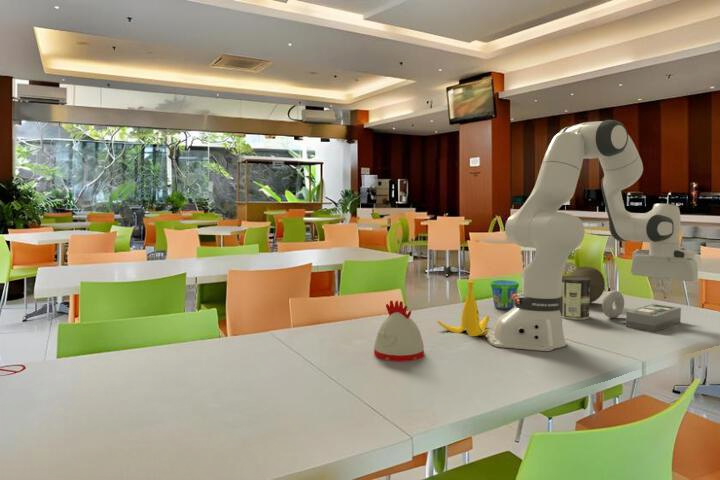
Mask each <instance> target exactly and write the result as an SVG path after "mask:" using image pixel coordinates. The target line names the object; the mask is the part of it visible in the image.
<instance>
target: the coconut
mask: <svg viewBox="0 0 720 480" xmlns="http://www.w3.org/2000/svg"><path fill="white" fill-rule="evenodd" d="M569 276H580V277H587V278H590V295H589V304H591V303H593V302H595V301H597V300H598V299H600V297H601V296H602V295H603V294H604V291H605V286H606V285H605V284H606V283H605V278H604V274H603V273H602V272H601V271H600V270H599V269H598V268H595V267H591V266H580V267H577V268H576V269H574V270H573V271H572V272H571V274H570V275H569Z"/></svg>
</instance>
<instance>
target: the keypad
mask: <svg viewBox="0 0 720 480" xmlns="http://www.w3.org/2000/svg"><path fill="white" fill-rule="evenodd" d="M649 306H654V307H663V308H669V310H667V309H663V312H655V314H654V315H648V314H642V313H637V310H639V309H645V308H646V307H649ZM681 312H682V308H681V307H680V306H679V307H678V306H671V305H666V304H665V305H664V304H658V303H652V304H648V305H644V306H641V307H638V308H635V309H632V310H628V311H626V316H625V317H626V319H625V327H627V328H632V329H637V330H641V331H646V332H653V333H656V332H658V331H660V330H661V331H662V330H663V329H666V328H669V327H671V326H674V325H677V324H680V323H681V318H682V317H681V316H682V315H681V314H682V313H681Z"/></svg>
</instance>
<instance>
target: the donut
mask: <svg viewBox="0 0 720 480" xmlns="http://www.w3.org/2000/svg"><path fill="white" fill-rule="evenodd" d="M601 308H602V312H603V314H604V315H605V316H606V317H607V318H609V319H615V318H618V317H619V316H620V315H621V314H622V313H623V311H624V309H625V297H624V295H623V294H622V293H621V292H620V291H618V290H613V289H612V290H610V291H608V292H607V293H606V294H605V295H604V297H603V299H602V303H601Z"/></svg>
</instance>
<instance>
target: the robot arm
mask: <svg viewBox="0 0 720 480" xmlns="http://www.w3.org/2000/svg"><path fill="white" fill-rule="evenodd" d="M584 159H585V160H586V159H587V160H592V159H598V161H599V163H600V166H601V168H602V171H603V177H602V179H601V182H600V184H601V185H600V186H601V192H602V193H601V194H602V197H603V201H604V206H605V209H606V213H607V217H608V227H609V228H608V229H609V233H610V235H611V236H612V238H614V240H616V241H618V242H637V243H638V242H639V243H649V249H639V248H637V249H636V250H634V251H633V252H632V255H631V259H632V261H631V267H630V273H631V274H632V275H633V276H637V277H638V276H640V277H646V278H647V277H648V278H653V279H652V280H653V283H654V284H655V286H656V291H657V292H662V293H663V292H664V293H667V292H668V289H669V286H670V285H671V284H672V282H673V280H675V281H683V282H695V281H696V280H697V279H698V277H699V271H698V270H699V269H698V262H697V261H696V259H695V257H696V252H695V251H693V250H691V249H688V248H685V247H682V246H681V244H680V242H681V241H680V239H679V235H680V232H681V222H682V221H681V212H680V207H679V206H678V205H677V204H673V203H665V202H660V203H654V204H653V206H652V209H651V210H649V211H647V212H644V213H643V212H642V213H640V212H638V213H637V212H630V211H628V210H626V208H625V203H624V200H623V195H622V191H623V190H625V189H627V188H629V187H631V186H633V185H634V184H635V183H636V182H637V181H638V180H639V179H640V178H641V176H642V175H643V172H644V165H643V161H642V158H641V156H640V154H639V151H638V149H637V147H636V144H635V143H634V141H633V139H632V137H631V136H630V135H629V134H628V130H627V128H626V127H625V125H624V124H623V123H622V122H620V121H618V120H614V119H605V120H603V121H602V120H601V121H586V122H581V123H578V124H573V125H572V124H571V125H568V126H566V127H563V128H562V129H560V131H559V132H558V133H557V134H555V135H554V136H553V138H552V139H551V141H550V143H549V144H548V147H547V149H546V151H545V154H544V157H543V159H542V163H541V165H540V169H539V172H538V175H537V177H536V178H537V179H536V181H535V184H534V187H533V189H532V191H531V192H530V195H529V196H528V197H527V199H526V200H525V202H523V205H522V206H521V207H520V208H519V209H518V210H517V211H515V212H514V213H513V214H512V215H510V216H509V217H508V218H507V220H506V221H505V225H504V226H505V227H504V231H505V232H504V233H505V236H506V238H507V240H509V241H510V242H511V243H512V244H515V245H517V246H520V247H523V248H531V249H532V248H533V249H535V254H534V256H533V258H532V260H531V262H529V263H527V264H526V265H524V267H523V269H522V275H521V277H522V278H521V279H522V281H521V294H519V295H518V294H513V295H512V299H513V301H515V305H514V308H512V309H509V310H507V312H506V313H504V314H502V315H501V316H499V318H498V319H497V321H496V324H495V327H494V331H491V332H488V334H487V338H486V339H487V342H488V343H489V344H490V345H492V346H494V347H496V348H506V349H507V348H508V349H517V350H518V349H519V350H530V351H542V352H549V351H552V350H554V349H560V348H563V347H565V346H566V345H567V341H566V338H565V333H564V327H563V318H562V313H563V297H562V296H561V289H562V277H563V272H564V269H565V265H566V262H567V260H568V258H569V257H570V255H571V254H572V252H573V251H575V249H577V248H578V247H580V245H581V244H582V243H583V240H584V237H585V234H586V233H585V225H584V222H583V221H582V220H581V218H580V217H578V216H576V215H573V214H570V213H566V212H562V211H561V212H560V211H559V210H560V208H561V207H562V206H563V205H565V204H566V203H568V202H569V201H570V200H571V199H572V198H573V197H574V194H575V192H576V189H577V184H578V182H579V181H578V180H579V178H580V175H581V174H580V173H581V171H582V167H583V162H584ZM661 279H664V282H665V284H664V285H661V283H660V281H661Z"/></svg>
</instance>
